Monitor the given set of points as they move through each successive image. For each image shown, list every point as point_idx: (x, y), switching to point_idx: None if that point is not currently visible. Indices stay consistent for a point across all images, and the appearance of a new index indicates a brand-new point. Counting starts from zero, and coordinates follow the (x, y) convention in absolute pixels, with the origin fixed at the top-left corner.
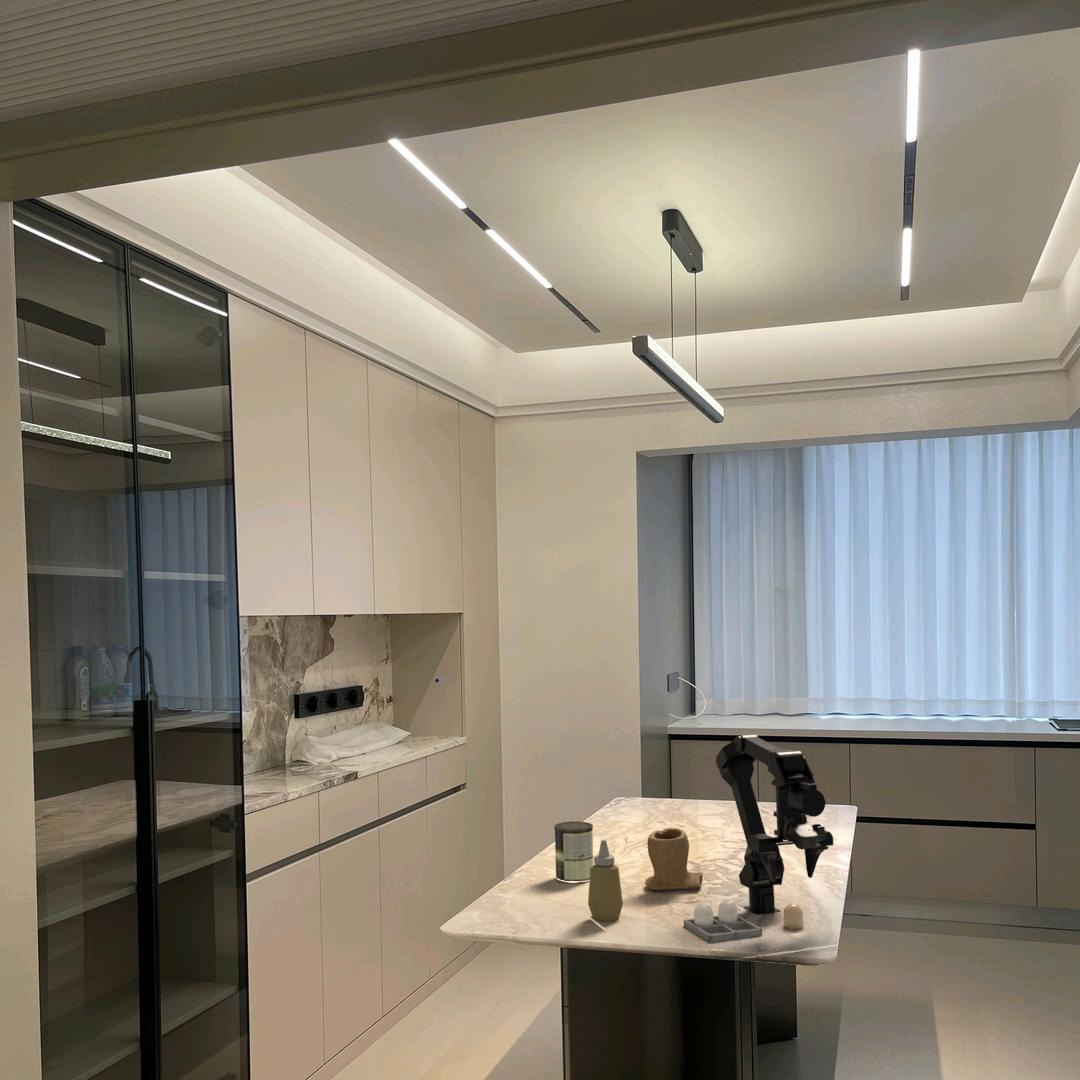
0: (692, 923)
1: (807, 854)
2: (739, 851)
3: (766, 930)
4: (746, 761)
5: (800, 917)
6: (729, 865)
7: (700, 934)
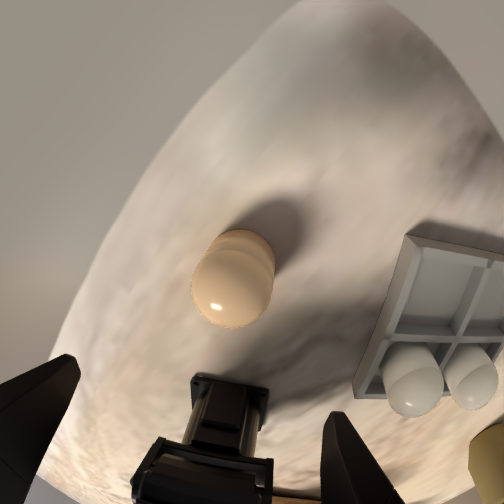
0: None
1: (18, 467)
2: (124, 498)
3: (338, 289)
4: None
5: (224, 247)
6: None
7: None
